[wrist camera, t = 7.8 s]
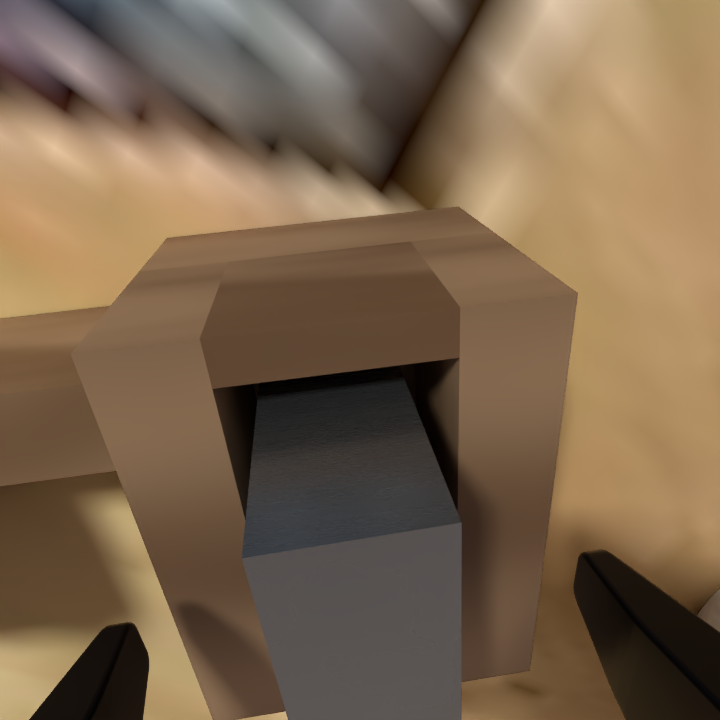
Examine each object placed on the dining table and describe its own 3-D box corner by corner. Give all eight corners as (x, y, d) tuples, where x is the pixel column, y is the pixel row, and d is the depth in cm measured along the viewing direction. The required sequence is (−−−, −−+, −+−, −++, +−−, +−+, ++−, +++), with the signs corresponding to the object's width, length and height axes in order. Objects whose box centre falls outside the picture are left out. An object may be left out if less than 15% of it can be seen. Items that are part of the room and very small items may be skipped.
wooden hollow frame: (455, 488, 17) (590, 821, 9) (-159, 575, 16) (-590, 1040, 8) (458, 207, 13) (714, 392, 5) (-386, 297, 11) (-1770, 727, 4)
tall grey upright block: (394, 520, 14) (460, 788, 9) (305, 534, 14) (315, 816, 8) (377, 313, 11) (461, 522, 6) (264, 328, 11) (241, 558, 6)
